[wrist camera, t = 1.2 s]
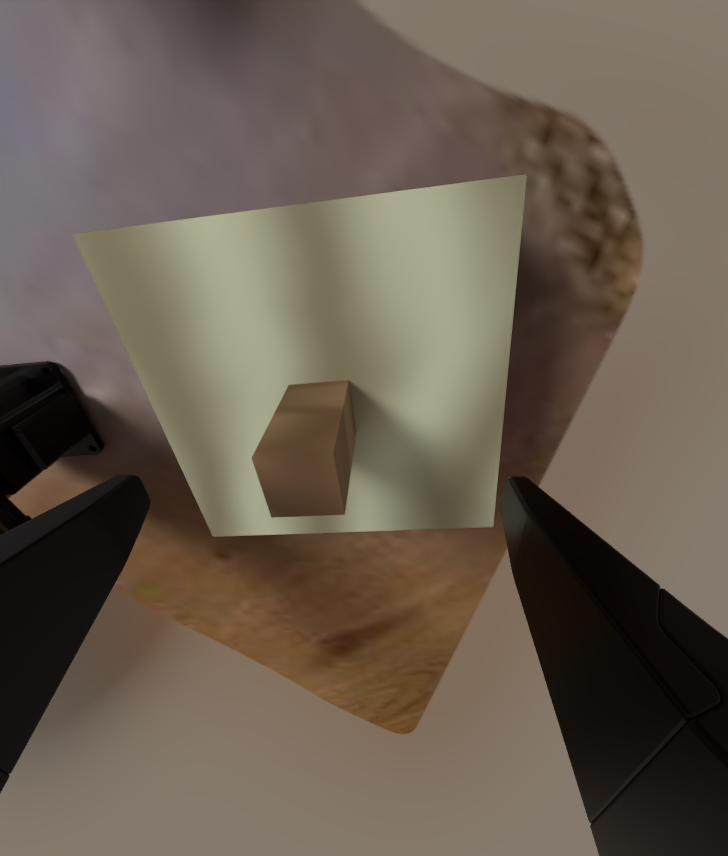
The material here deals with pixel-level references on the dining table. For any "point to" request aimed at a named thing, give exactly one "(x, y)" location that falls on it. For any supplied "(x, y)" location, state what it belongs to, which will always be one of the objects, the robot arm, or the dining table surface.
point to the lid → (327, 354)
